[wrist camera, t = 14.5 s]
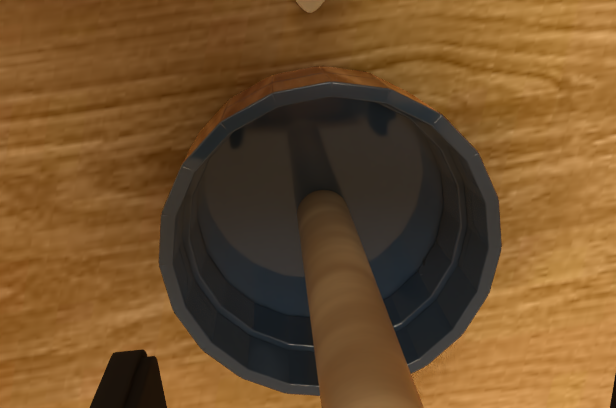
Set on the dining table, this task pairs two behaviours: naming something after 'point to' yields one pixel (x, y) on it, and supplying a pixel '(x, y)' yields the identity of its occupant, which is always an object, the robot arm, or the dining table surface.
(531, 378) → the dining table surface
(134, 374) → the robot arm
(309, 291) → the stick
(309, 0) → the popsicle
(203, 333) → the bowl
